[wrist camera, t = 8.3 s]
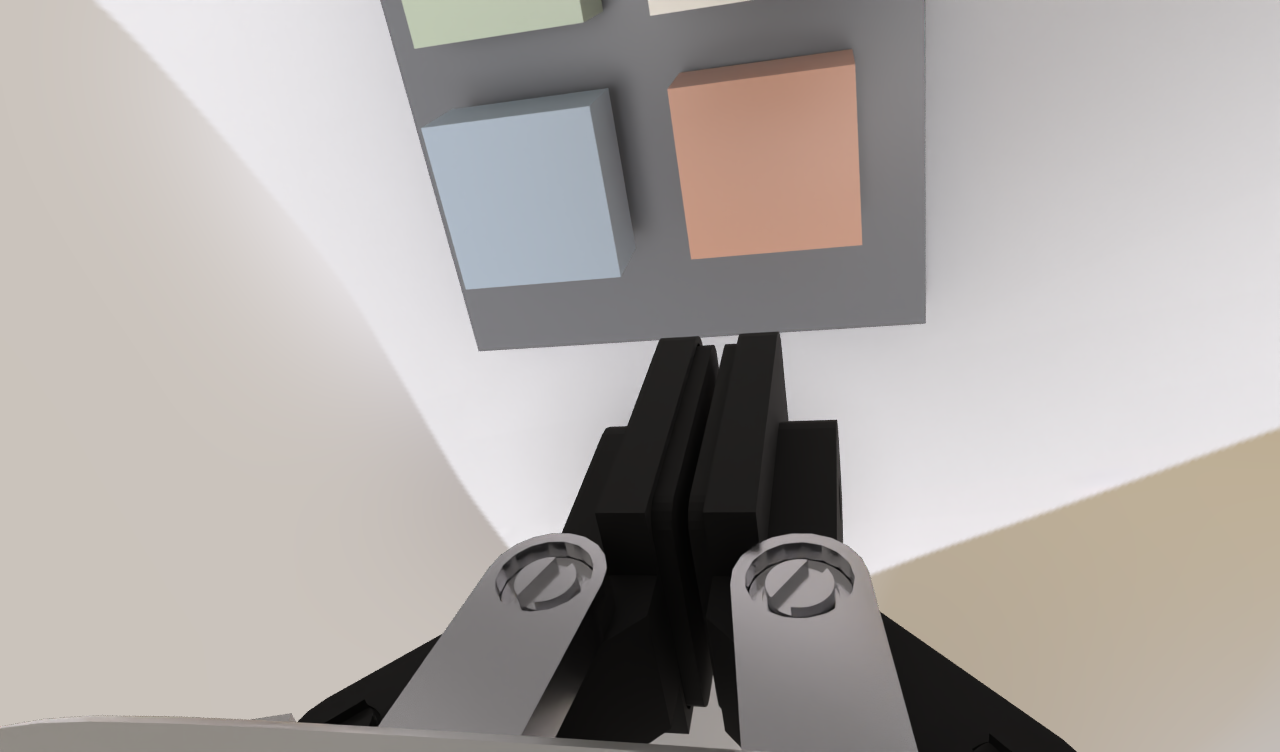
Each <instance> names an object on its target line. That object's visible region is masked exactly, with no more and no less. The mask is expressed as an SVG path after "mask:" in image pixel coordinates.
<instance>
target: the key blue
mask: <svg viewBox="0 0 1280 752" xmlns="http://www.w3.org/2000/svg"><path fill="white" fill-rule="evenodd" d="M421 130H422V134H423V137H424V141H425V144H426V148H427V152H428V155H429V159H430V162H431V166H432V170H433V173H434V177H435V180H436V184H437V188H438V191H439V195H440V198H441V202H442V206H443V209H444V213H445V216H446V220H447V224H448V227H449V231H450V234H451V238H452V242H453V245H454V249H455V252H456V256H457V260H458V263H459V267H460V270H461V274H462V278H463V281H464V285H465V288H466V290H467V289H480V288H492V287H504V286H517V285H529V284H541V283H554V282H566V281H578V280H591V279H603V278H616V277H621V276H622V274H623V272H624V270H625V268H626V266H627V264H628V262H629V260H630V258H631V256H632V254H633V252H634V250H635V248H636V246H635V240H634V234H633V229H632V223H631V217H630V211H629V205H628V200H627V194H626V188H625V182H624V176H623V170H622V165H621V159H620V153H619V147H618V141H617V136H616V130H615V124H614V118H613V112H612V106H611V101H610V95H609V89H608V88H604V89H597V90H590V91H582V92H575V93H568V94H560V95H553V96H546V97H538V98H531V99H523V100H516V101H509V102H501V103H494V104H487V105H479V106H472V107H464V108H457V109H452V110H450V111H448V112H447V113H445V114H443V115H442V116H440V117H438V118H437V119H435V120H434V121H432V122H430V123H429V124H427V125H425V126H424V127H422V128H421Z"/></svg>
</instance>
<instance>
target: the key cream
mask: <svg viewBox="0 0 1280 752" xmlns="http://www.w3.org/2000/svg"><path fill="white" fill-rule="evenodd" d="M743 1H750V0H648V5H649V12H650V16H653V15H659V14H666V13H672V12H679V11H685V10H692V9H698V8H705V7H711V6H718V5H724V4H730V3H737V2H743Z"/></svg>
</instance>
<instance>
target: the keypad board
mask: <svg viewBox="0 0 1280 752" xmlns="http://www.w3.org/2000/svg"><path fill="white" fill-rule="evenodd" d="M380 1H381V4H382V8H383V11H384V15H385V18H386V22H387V26H388V29H389V33H390V36H391V40H392V43H393V47H394V51H395V54H396V58H397V61H398V65H399V68H400V72H401V75H402V79H403V83H404V86H405V90H406V93H407V97H408V100H409V104H410V108H411V111H412V115H413V118H414V122H415V125H416V129H417V133H418V136H419V140H420V143H421V147H422V150H423V154H424V157H425V161H426V165H427V168H428V172H429V175H430V179H431V182H432V186H433V190H434V193H435V197H436V200H437V204H438V207H439V211H440V214H441V218H442V222H443V225H444V229H445V232H446V236H447V239H448V243H449V247H450V250H451V254H452V257H453V261H454V264H455V268H456V271H457V275H458V279H459V282H460V286H461V289H462V293H463V296H464V300H465V304H466V307H467V311H468V314H469V318H470V321H471V325H472V328H473V332H474V336H475V339H476V343H477V346H478V350H479V351H491V350H507V349H523V348H539V347H555V346H571V345H587V344H603V343H619V342H635V341H651V340H660V339H661V338H672V337H690V336H699V337H715V336H732V335H739V334H743V333H760V332H778V331H779V333H780V332H796V331H812V330H828V329H844V328H860V327H876V326H892V325H908V324H924V323H926V292H925V0H750V1H743V2H737V3H730V4H724V5H718V6H711V7H705V8H698V9H692V10H685V11H679V12H672V13H666V14H659V15H653V16H650V12H649V5H648V0H601V2H602V7H603V12H601V13H599V14H597V15H596V16H594V17H592V18H590V19H589V20H587V21H585V22H584V23H577V24H571V25H564V26H558V27H551V28H545V29H539V30H532V31H526V32H519V33H513V34H506V35H500V36H494V37H487V38H481V39H474V40H468V41H462V42H455V43H449V44H442V45H436V46H429V47H423V48H417V49H414V45H413V41H412V38H411V34H410V30H409V26H408V23H407V19H406V15H405V12H404V8H403V4H402V0H380ZM849 49H852V50H853V55H854V61H855V72H856V98H857V123H858V149H859V174H860V200H861V225H862V245H857V246H845V247H833V248H821V249H810V250H798V251H786V252H774V253H762V254H750V255H738V256H727V257H715V258H703V259H691V255H690V248H689V241H688V233H687V226H686V219H685V212H684V205H683V198H682V191H681V184H680V176H679V169H678V162H677V155H676V148H675V141H674V134H673V127H672V119H671V112H670V105H669V98H668V91H667V89H668V88H669V86H670V85H671V84H672V82H673V81H674V80H675V78H676V77H677V76H678V74H679V73H681V72H688V71H696V70H703V69H710V68H718V67H725V66H732V65H739V64H747V63H754V62H761V61H769V60H776V59H783V58H790V57H798V56H805V55H812V54H820V53H827V52H834V51H841V50H849ZM604 88H608V89H609V95H610V101H611V106H612V112H613V118H614V124H615V130H616V136H617V141H618V147H619V153H620V159H621V165H622V170H623V176H624V182H625V188H626V194H627V200H628V205H629V211H630V217H631V223H632V229H633V234H634V240H635V246H636V248H635V250H634V252H633V254H632V256H631V258H630V260H629V262H628V264H627V266H626V268H625V270H624V272H623V274H622V276H621V277H616V278H603V279H591V280H578V281H566V282H554V283H541V284H529V285H517V286H504V287H492V288H480V289H467V290H466V288H465V285H464V281H463V278H462V274H461V270H460V267H459V263H458V260H457V256H456V252H455V249H454V245H453V242H452V238H451V234H450V231H449V227H448V224H447V220H446V216H445V213H444V209H443V206H442V202H441V198H440V195H439V191H438V188H437V184H436V180H435V177H434V173H433V170H432V166H431V162H430V159H429V155H428V152H427V148H426V144H425V141H424V137H423V134H422V130H421V128H422V127H424V126H425V125H427V124H429V123H430V122H432V121H434V120H435V119H437V118H438V117H440V116H442V115H443V114H445V113H447V112H448V111H450V110H452V109H457V108H464V107H472V106H479V105H487V104H494V103H501V102H509V101H516V100H523V99H531V98H538V97H546V96H553V95H560V94H568V93H575V92H582V91H590V90H597V89H604Z"/></svg>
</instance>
